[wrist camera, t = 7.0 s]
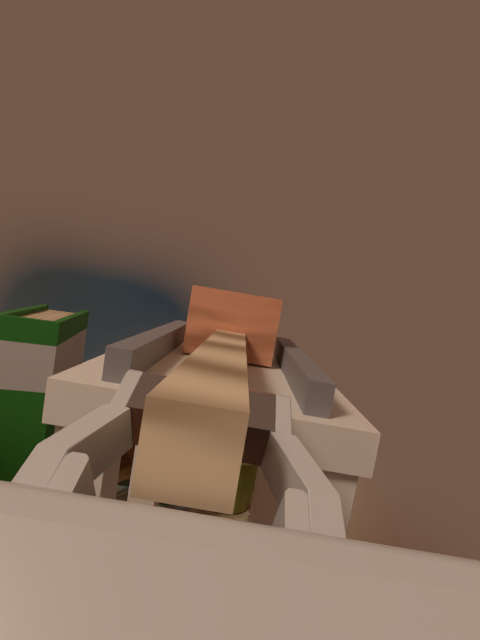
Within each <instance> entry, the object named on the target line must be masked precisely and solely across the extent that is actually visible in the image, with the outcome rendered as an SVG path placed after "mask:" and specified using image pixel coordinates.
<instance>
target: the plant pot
mask: <svg viewBox="0 0 480 640" xmlns="http://www.w3.org/2000/svg"><path fill="white" fill-rule="evenodd" d="M257 467H258V466H257V465H252V464H247V463H241V468H240V474H239V480H238V486H237V492H236V498H235V503H234V509H233V513H234V514H239V513H242V512H244V511H245V510H246V509H247V508H248V505H249V502H250V499H251V496H252V493H253V490H254V484H255V479H256V473H257Z"/></svg>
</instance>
